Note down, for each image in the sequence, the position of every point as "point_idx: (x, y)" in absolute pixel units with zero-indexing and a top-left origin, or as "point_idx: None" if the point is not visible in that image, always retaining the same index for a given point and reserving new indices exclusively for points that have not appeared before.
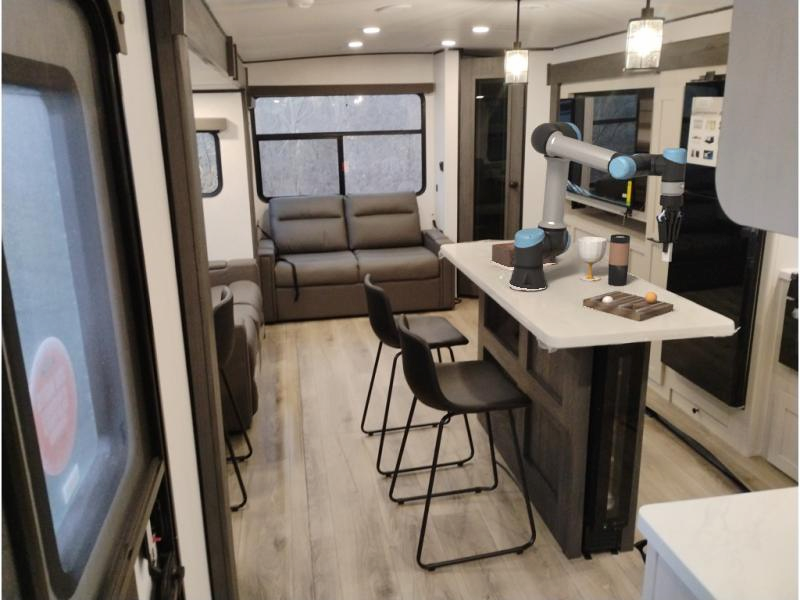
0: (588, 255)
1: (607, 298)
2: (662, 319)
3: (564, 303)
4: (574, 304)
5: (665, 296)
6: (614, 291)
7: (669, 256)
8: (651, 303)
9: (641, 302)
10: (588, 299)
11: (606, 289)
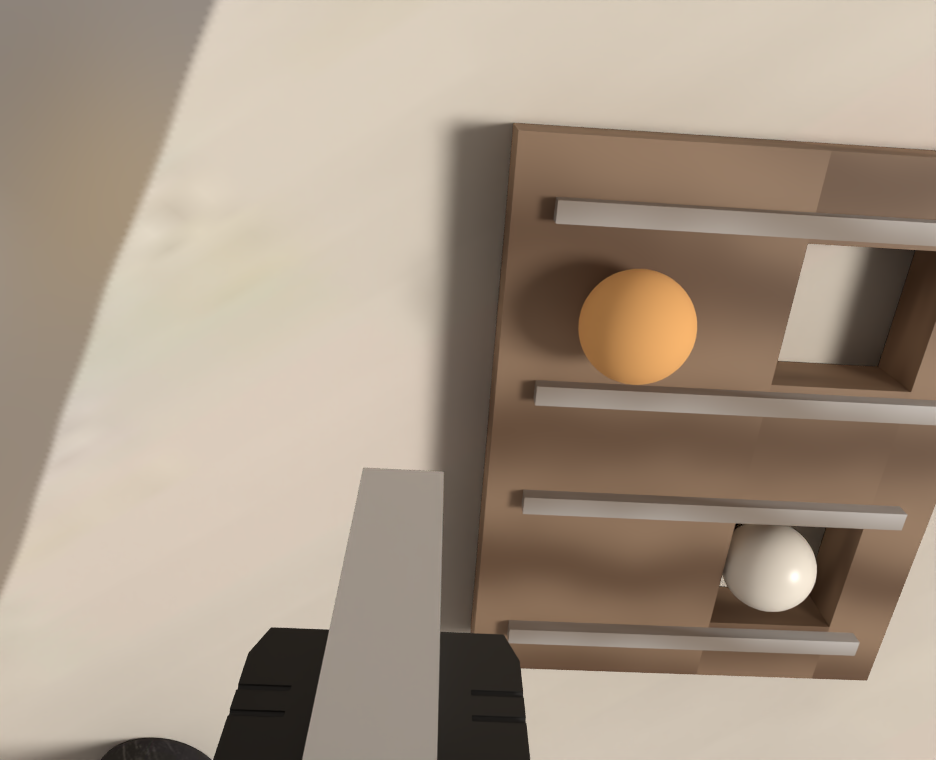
0: None
1: (811, 577)
2: (832, 45)
3: (848, 735)
4: (833, 691)
5: (141, 413)
6: None
7: (431, 534)
8: None
9: None
10: (841, 661)
11: None
